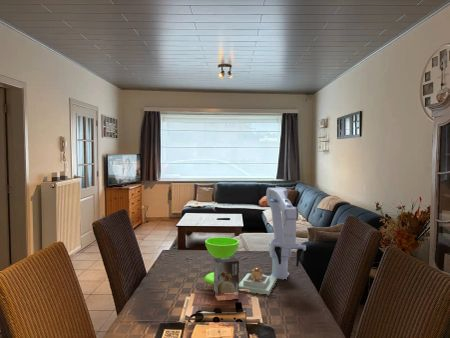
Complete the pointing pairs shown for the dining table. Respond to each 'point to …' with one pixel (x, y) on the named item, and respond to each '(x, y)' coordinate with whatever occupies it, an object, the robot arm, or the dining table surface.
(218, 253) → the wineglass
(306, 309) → the dining table surface
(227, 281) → the coffee box
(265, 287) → the pale green rectangular tray
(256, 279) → the spout can
